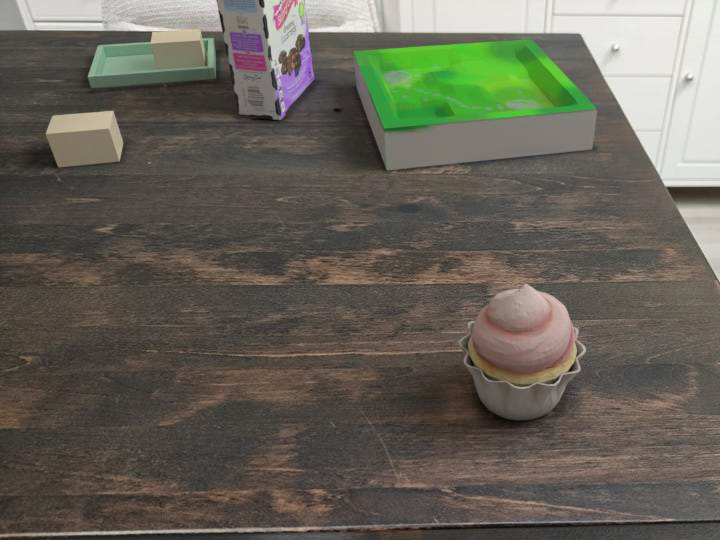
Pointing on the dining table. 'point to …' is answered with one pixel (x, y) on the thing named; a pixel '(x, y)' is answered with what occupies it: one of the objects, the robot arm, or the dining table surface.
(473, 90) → the tray
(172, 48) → the seated pad
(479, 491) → the dining table surface
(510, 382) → the cupcake
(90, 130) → the loose pad
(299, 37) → the candy box
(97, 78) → the frame
